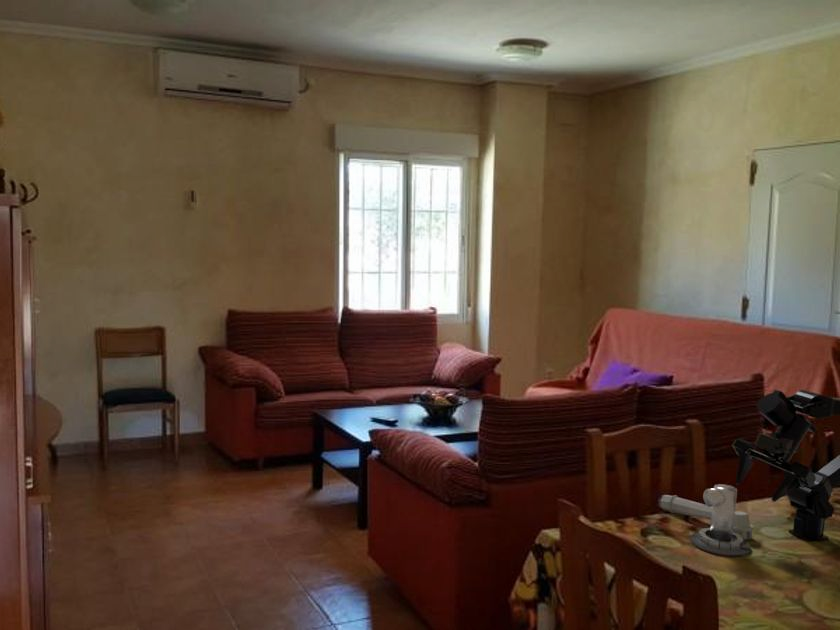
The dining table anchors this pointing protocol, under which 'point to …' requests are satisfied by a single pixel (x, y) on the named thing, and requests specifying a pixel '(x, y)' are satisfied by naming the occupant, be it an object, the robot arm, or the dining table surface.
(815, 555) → the dining table surface
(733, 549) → the collar
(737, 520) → the grey pipe
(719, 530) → the elbow
